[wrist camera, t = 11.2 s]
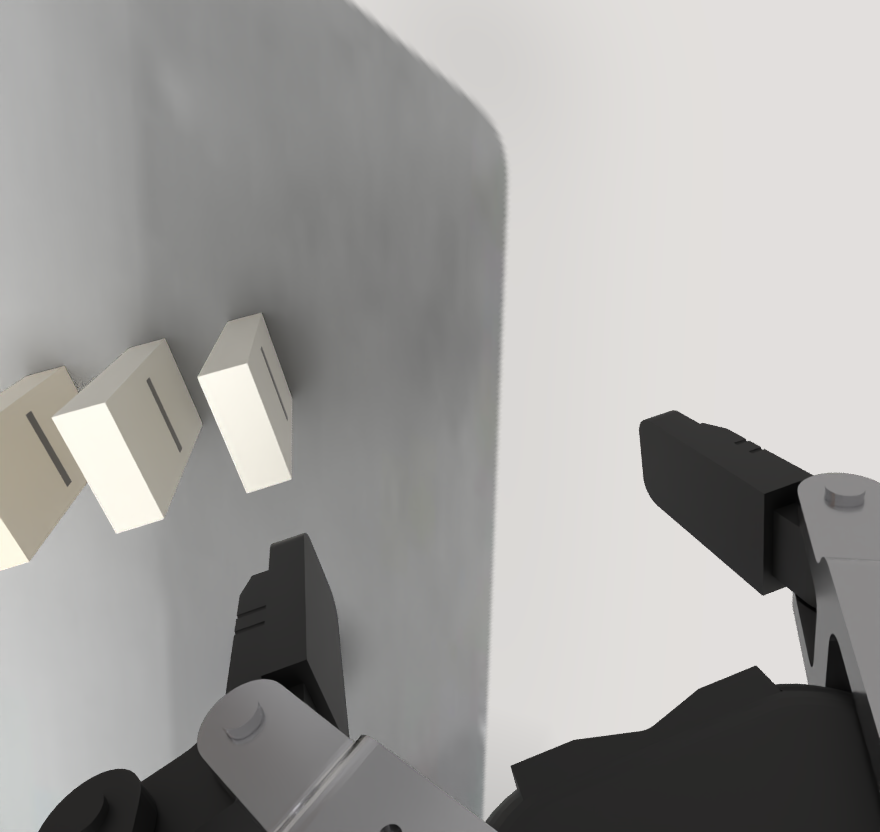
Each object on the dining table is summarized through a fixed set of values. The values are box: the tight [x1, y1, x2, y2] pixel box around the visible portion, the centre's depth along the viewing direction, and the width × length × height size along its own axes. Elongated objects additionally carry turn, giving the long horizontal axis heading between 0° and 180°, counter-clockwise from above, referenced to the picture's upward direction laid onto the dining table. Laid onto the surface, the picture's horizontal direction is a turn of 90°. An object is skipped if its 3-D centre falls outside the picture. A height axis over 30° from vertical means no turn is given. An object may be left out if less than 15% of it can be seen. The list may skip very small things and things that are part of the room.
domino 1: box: [0, 366, 87, 571], centre depth 24 cm, size 5×2×10 cm, turn 13°
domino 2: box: [51, 338, 203, 534], centre depth 25 cm, size 5×2×10 cm, turn 13°
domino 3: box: [197, 312, 292, 493], centre depth 25 cm, size 5×2×10 cm, turn 13°
